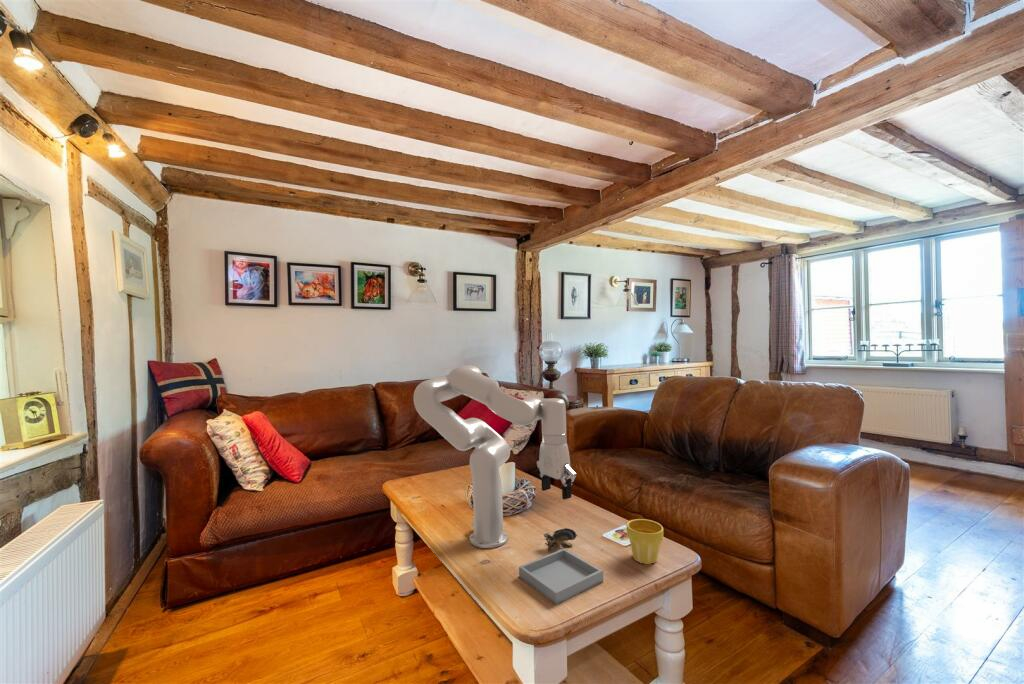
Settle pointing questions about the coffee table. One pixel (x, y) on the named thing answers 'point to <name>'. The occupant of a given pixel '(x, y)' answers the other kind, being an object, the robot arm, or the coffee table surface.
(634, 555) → the plant pot
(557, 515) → the coffee table surface
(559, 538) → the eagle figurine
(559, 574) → the bin
